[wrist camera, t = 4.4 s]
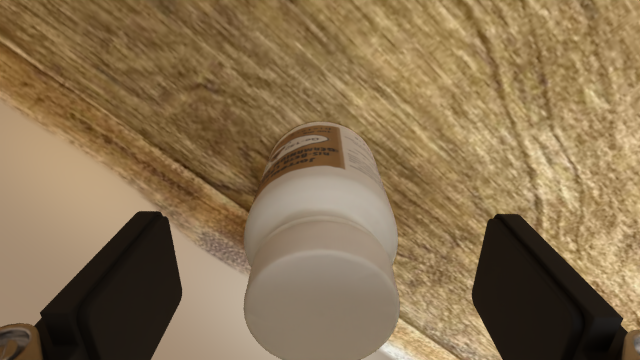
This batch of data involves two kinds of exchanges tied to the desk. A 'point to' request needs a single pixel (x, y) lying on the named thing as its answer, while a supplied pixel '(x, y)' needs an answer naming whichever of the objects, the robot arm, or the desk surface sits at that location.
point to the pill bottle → (321, 249)
